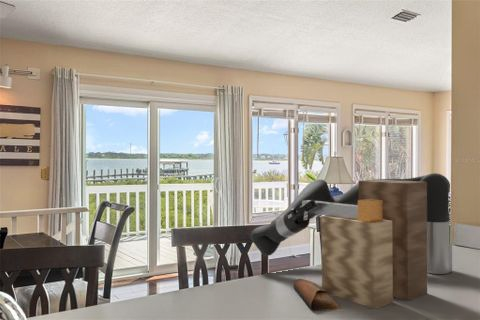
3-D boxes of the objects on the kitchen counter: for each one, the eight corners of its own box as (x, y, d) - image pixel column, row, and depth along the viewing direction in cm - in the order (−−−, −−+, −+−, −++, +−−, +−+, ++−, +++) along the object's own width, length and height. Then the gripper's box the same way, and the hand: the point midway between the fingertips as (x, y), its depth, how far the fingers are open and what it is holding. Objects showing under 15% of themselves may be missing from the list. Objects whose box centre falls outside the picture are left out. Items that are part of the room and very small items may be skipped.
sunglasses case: (343, 308, 107) (330, 287, 107) (320, 324, 106) (307, 302, 106) (320, 287, 125) (309, 268, 125) (301, 300, 124) (289, 281, 124)
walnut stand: (359, 286, 126) (358, 180, 125) (378, 280, 132) (378, 179, 131) (407, 300, 113) (407, 183, 113) (427, 293, 119) (426, 181, 119)
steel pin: (299, 212, 130) (299, 194, 130) (312, 210, 134) (311, 193, 134) (370, 222, 110) (370, 201, 110) (382, 220, 113) (382, 200, 113)
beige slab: (322, 291, 122) (321, 216, 122) (339, 285, 127) (339, 213, 126) (374, 308, 107) (374, 223, 107) (392, 302, 112) (392, 220, 112)
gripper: (272, 214, 134) (303, 191, 123) (303, 210, 143) (335, 189, 132) (280, 235, 131) (312, 215, 120) (311, 230, 140) (344, 210, 129)
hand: (324, 201), depth 126 cm, fingers open, 8 cm apart
